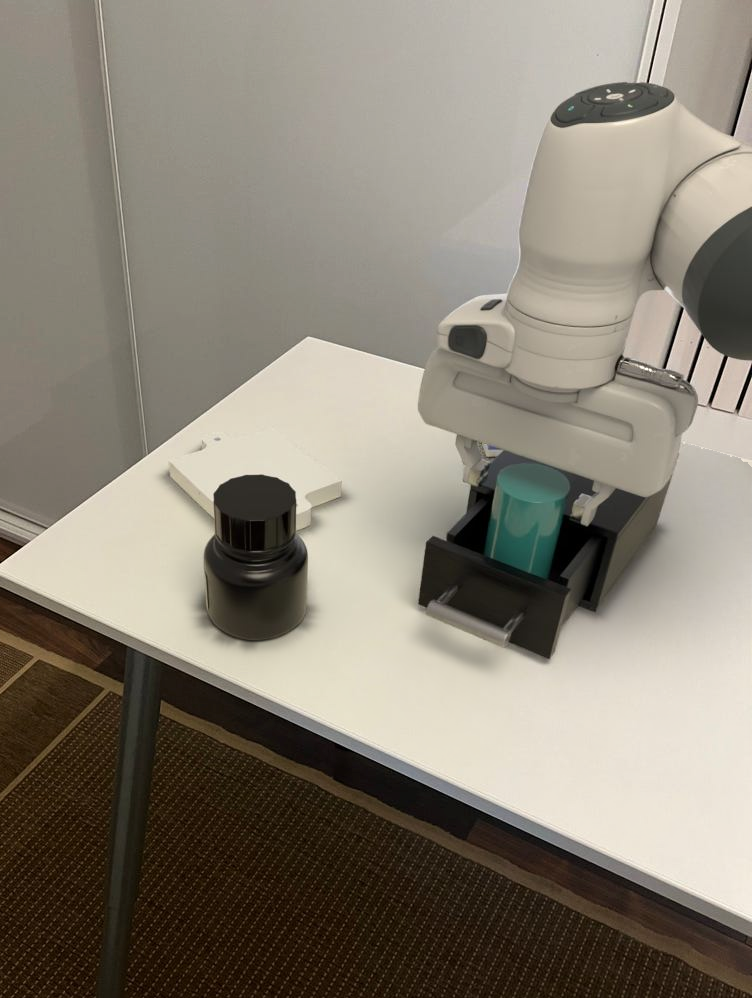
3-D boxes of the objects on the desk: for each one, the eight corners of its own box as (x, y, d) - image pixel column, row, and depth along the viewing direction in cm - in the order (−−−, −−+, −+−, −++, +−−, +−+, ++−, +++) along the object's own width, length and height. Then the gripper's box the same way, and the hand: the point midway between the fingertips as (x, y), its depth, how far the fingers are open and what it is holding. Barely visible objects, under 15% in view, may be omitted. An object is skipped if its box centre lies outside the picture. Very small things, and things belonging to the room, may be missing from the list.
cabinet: (595, 612, 86) (618, 533, 81) (458, 558, 92) (470, 481, 87) (655, 528, 96) (679, 452, 90) (527, 484, 102) (542, 411, 96)
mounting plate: (159, 465, 105) (157, 450, 103) (260, 432, 110) (260, 417, 109) (246, 549, 93) (246, 533, 92) (355, 508, 99) (356, 492, 97)
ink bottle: (265, 565, 92) (264, 454, 84) (330, 610, 87) (335, 497, 79) (183, 609, 87) (173, 496, 79) (247, 659, 82) (244, 544, 74)
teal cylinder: (555, 583, 86) (581, 477, 79) (527, 618, 83) (552, 510, 75) (495, 560, 89) (515, 455, 81) (466, 593, 85) (484, 486, 78)
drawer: (527, 689, 78) (543, 625, 73) (393, 629, 83) (400, 567, 79) (613, 571, 89) (631, 510, 85) (490, 526, 95) (501, 466, 90)
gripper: (719, 363, 68) (664, 525, 77) (457, 292, 77) (436, 446, 86) (691, 398, 64) (636, 565, 73) (418, 320, 73) (400, 478, 82)
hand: (526, 500), depth 80 cm, fingers open, 8 cm apart
